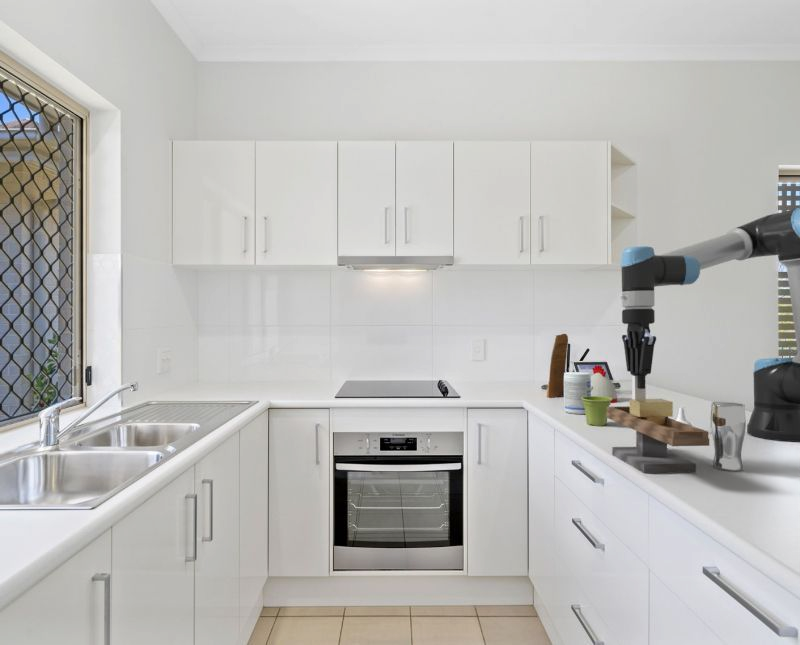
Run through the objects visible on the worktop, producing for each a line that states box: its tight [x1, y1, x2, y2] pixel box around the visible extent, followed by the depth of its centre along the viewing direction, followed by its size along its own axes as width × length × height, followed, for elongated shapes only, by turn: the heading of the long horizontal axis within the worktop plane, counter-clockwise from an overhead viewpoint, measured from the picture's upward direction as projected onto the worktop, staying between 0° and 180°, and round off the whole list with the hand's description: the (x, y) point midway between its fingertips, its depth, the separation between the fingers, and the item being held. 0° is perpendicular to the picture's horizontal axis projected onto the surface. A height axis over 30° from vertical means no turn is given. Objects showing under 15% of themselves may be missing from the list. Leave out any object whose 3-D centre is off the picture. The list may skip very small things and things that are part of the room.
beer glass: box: [709, 401, 747, 473], centre depth 122 cm, size 7×7×15 cm
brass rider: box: [629, 398, 674, 425], centre depth 127 cm, size 5×8×5 cm, turn 92°
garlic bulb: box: [675, 406, 693, 426], centre depth 161 cm, size 6×6×8 cm
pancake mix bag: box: [546, 333, 569, 399], centre depth 236 cm, size 7×19×28 cm, turn 141°
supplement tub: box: [563, 371, 591, 415], centre depth 195 cm, size 10×10×15 cm
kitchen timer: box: [590, 364, 618, 404], centre depth 223 cm, size 14×14×15 cm
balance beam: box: [606, 405, 710, 474], centre depth 127 cm, size 32×12×11 cm, turn 2°
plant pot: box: [582, 396, 612, 427], centre depth 173 cm, size 9×9×9 cm
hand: (638, 400), depth 133 cm, fingers closed
